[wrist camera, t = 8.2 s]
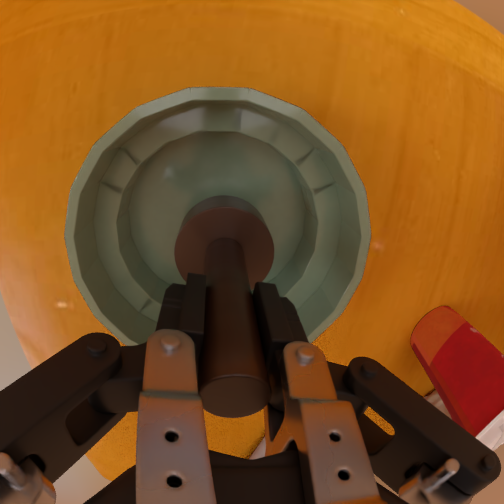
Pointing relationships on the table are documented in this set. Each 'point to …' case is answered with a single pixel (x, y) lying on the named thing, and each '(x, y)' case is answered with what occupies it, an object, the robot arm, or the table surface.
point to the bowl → (208, 185)
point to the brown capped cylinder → (228, 301)
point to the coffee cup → (463, 373)
